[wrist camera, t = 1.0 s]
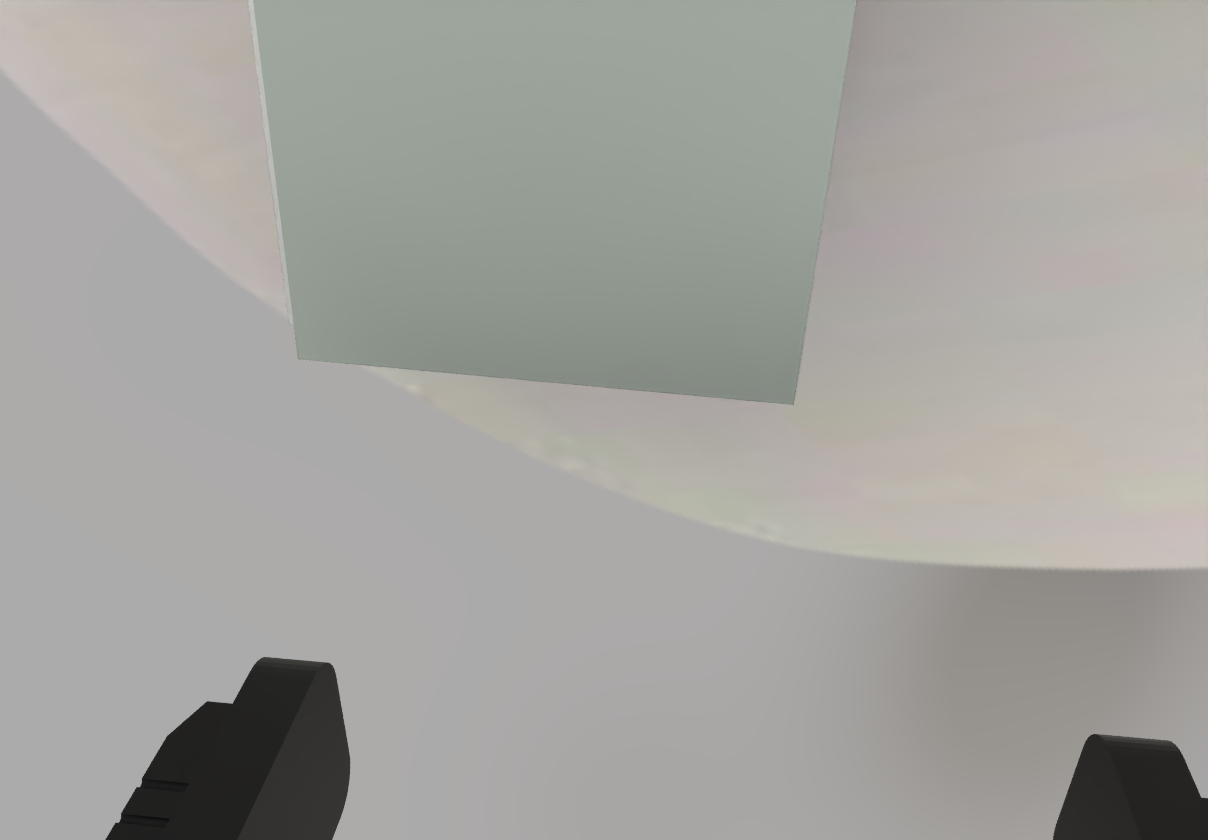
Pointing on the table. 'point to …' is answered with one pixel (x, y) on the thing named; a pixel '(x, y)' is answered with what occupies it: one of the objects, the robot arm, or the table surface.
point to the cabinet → (554, 184)
